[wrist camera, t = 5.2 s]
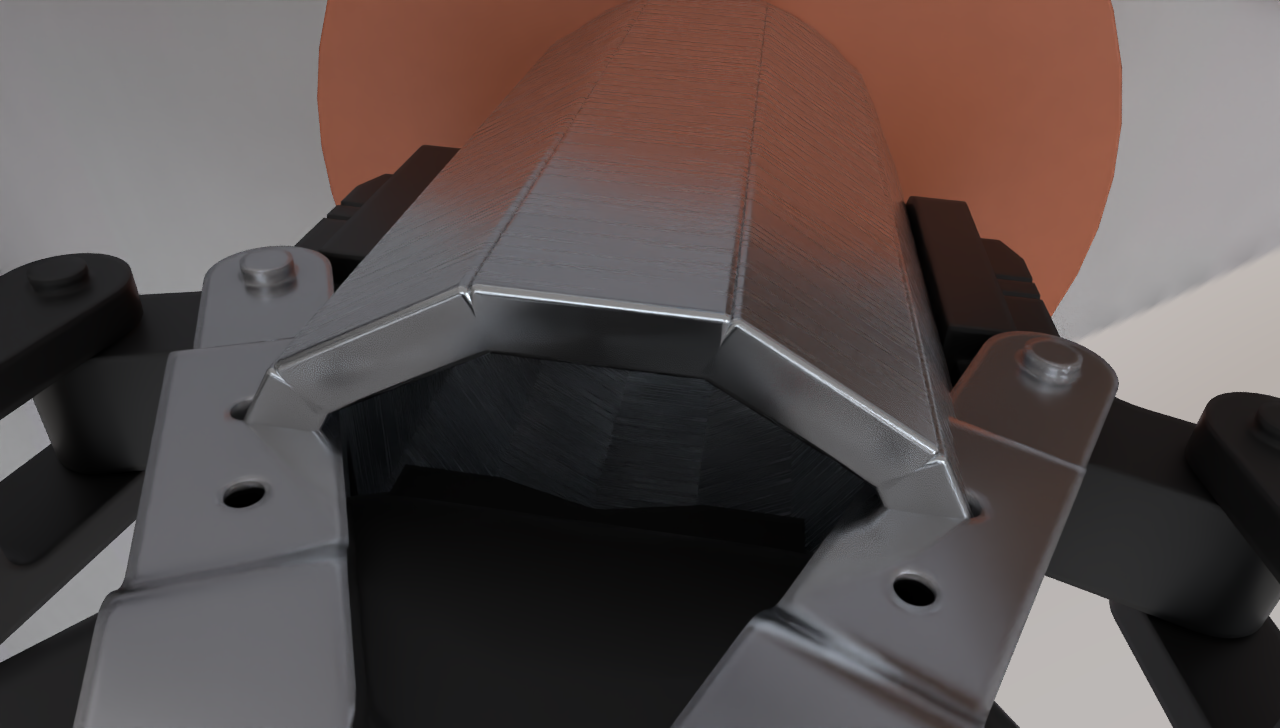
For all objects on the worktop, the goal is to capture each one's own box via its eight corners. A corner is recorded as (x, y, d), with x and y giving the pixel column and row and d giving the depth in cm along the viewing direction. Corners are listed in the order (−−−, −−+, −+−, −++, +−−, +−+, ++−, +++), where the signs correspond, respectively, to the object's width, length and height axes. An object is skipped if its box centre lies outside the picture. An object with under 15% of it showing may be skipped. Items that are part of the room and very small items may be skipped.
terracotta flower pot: (465, 261, 27) (323, 473, 19) (423, -354, 19) (142, -448, 11) (955, 317, 26) (1030, 571, 18) (1141, -317, 18) (1445, -393, 9)
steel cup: (517, 323, 16) (286, 787, 9) (506, -30, 13) (117, 243, 5) (848, 363, 16) (896, 892, 8) (927, 6, 12) (1129, 362, 5)
